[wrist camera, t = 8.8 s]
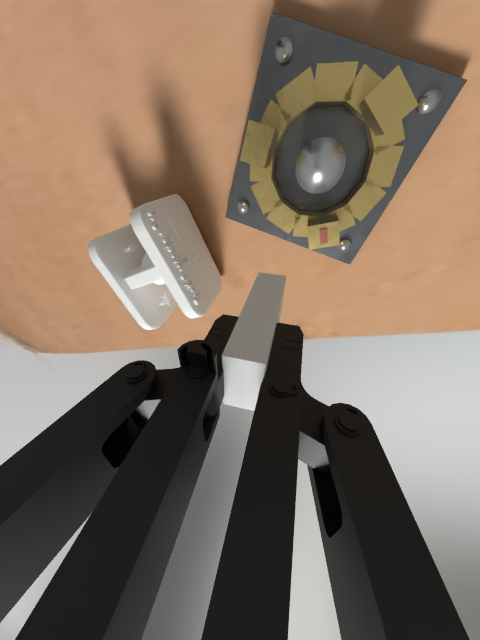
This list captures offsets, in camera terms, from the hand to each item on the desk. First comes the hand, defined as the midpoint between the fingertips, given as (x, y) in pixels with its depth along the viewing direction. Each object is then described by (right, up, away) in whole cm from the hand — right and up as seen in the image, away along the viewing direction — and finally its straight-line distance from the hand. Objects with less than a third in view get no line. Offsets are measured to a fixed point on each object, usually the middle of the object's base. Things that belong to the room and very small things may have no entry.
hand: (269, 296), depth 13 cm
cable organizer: (-11, +10, +25) cm, 29 cm away
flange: (+7, +17, +14) cm, 23 cm away
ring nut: (+7, +16, +13) cm, 22 cm away
